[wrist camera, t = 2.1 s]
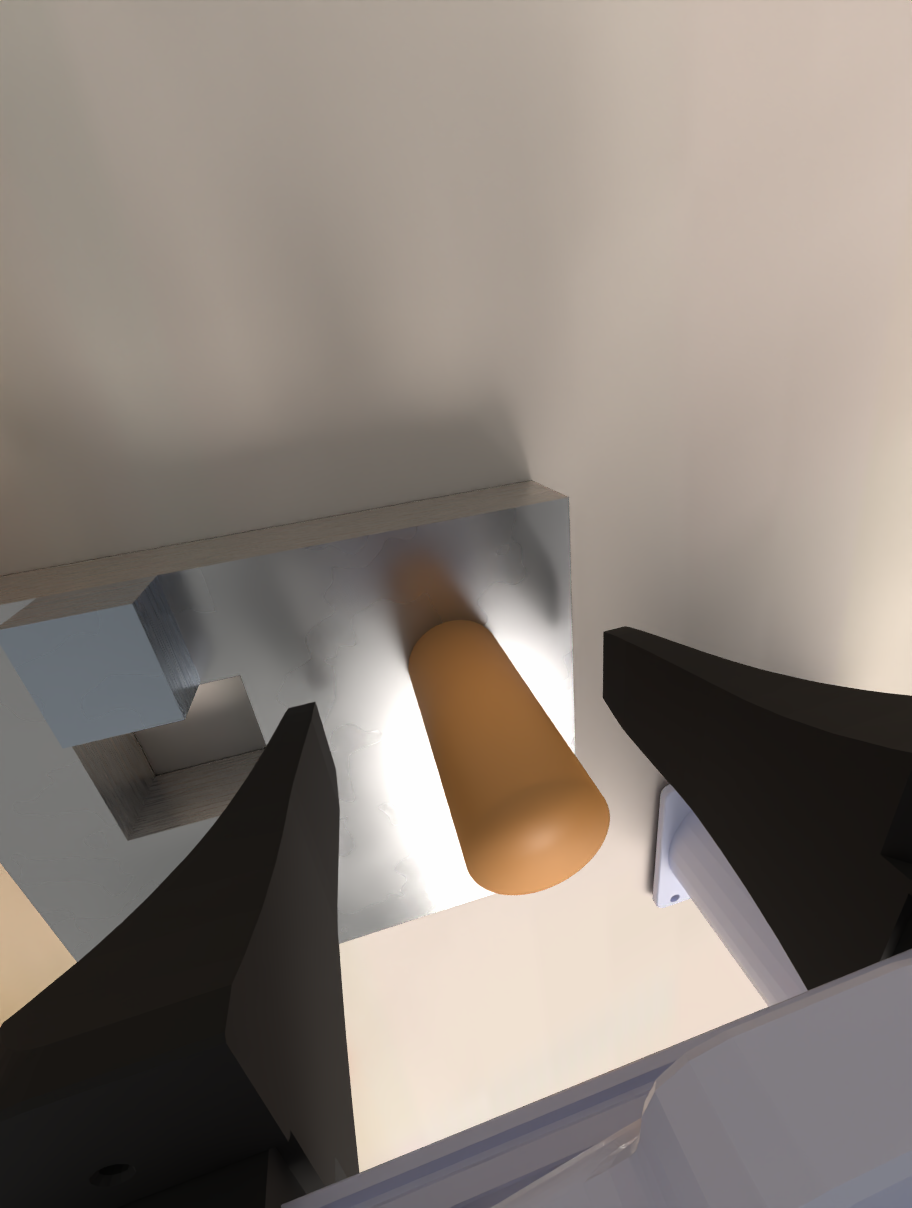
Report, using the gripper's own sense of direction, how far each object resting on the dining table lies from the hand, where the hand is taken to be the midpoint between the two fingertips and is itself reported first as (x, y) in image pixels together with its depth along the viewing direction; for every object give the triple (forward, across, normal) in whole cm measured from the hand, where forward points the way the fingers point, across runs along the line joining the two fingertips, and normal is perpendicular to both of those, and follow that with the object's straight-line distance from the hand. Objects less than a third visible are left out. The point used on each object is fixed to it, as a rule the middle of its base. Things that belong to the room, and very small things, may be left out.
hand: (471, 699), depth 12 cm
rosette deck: (+4, +4, +3) cm, 7 cm away
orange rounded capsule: (+2, 0, 0) cm, 2 cm away
